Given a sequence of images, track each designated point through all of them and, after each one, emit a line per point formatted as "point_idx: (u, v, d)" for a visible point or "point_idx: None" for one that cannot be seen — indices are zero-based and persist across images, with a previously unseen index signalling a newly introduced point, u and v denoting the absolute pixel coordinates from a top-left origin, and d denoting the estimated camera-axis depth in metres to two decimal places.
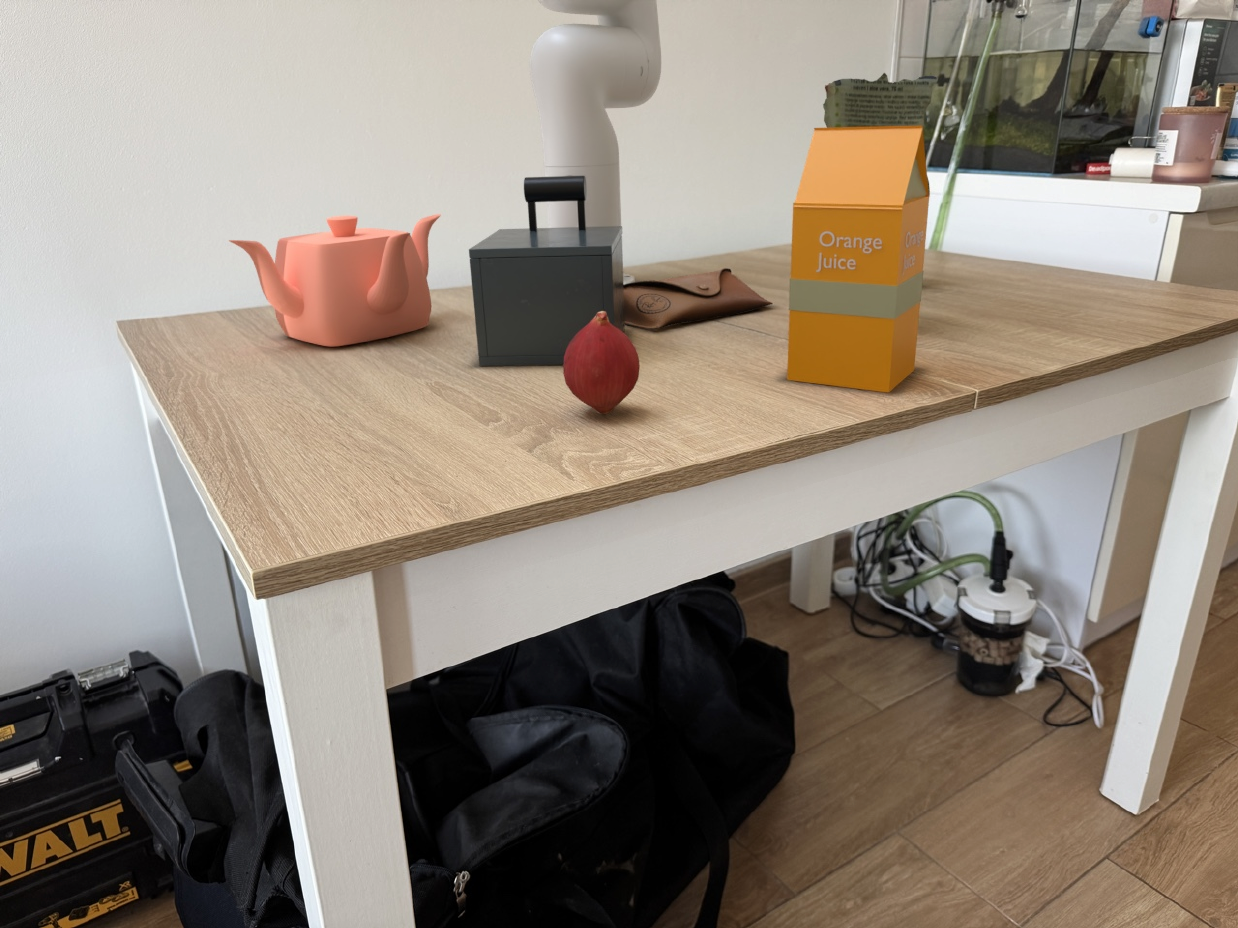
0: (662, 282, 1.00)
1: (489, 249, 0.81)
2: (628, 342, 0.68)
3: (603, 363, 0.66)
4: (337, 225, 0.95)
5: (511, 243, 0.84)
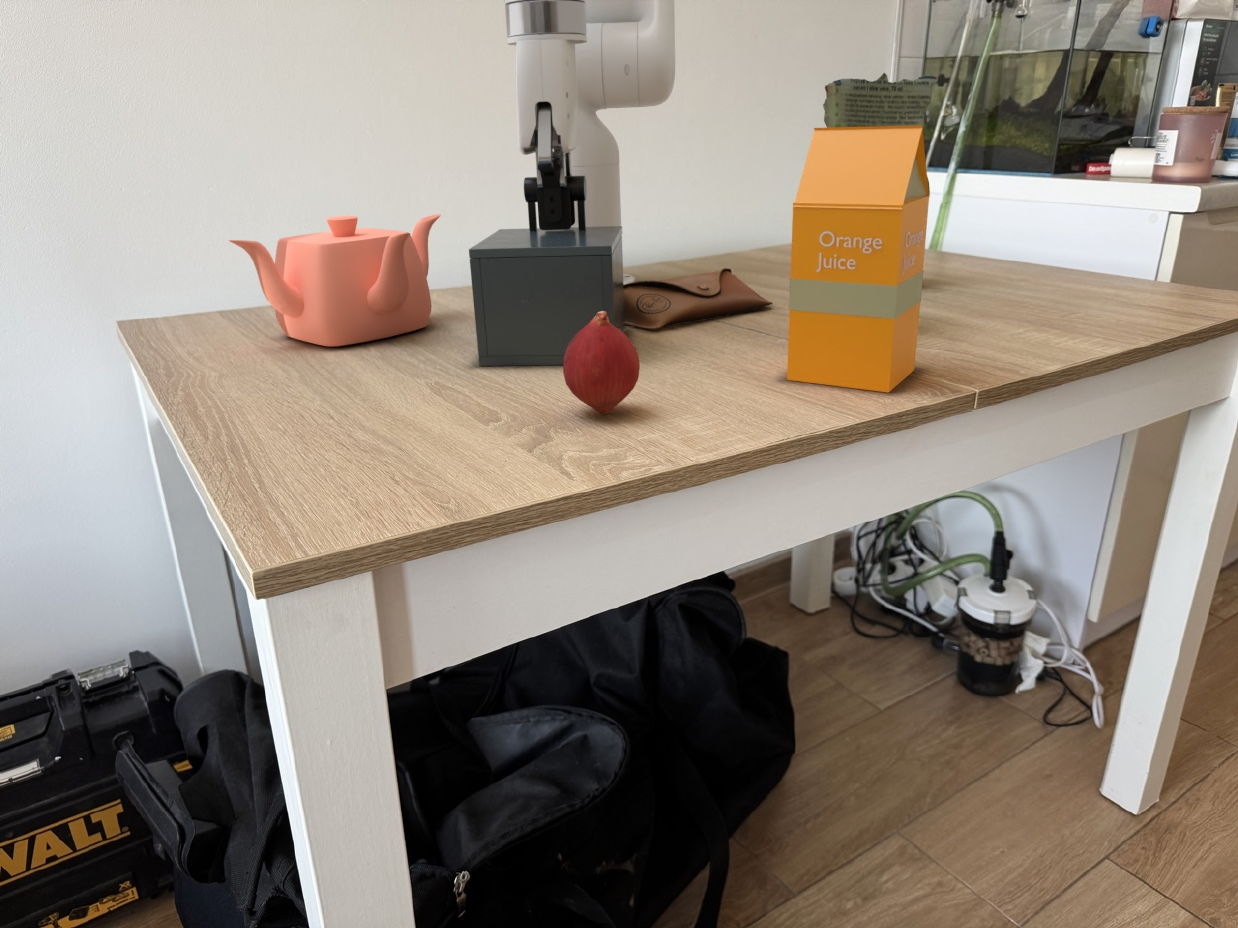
0: (662, 282, 1.00)
1: (489, 249, 0.81)
2: (628, 342, 0.68)
3: (603, 363, 0.66)
4: (337, 225, 0.95)
5: (511, 243, 0.84)
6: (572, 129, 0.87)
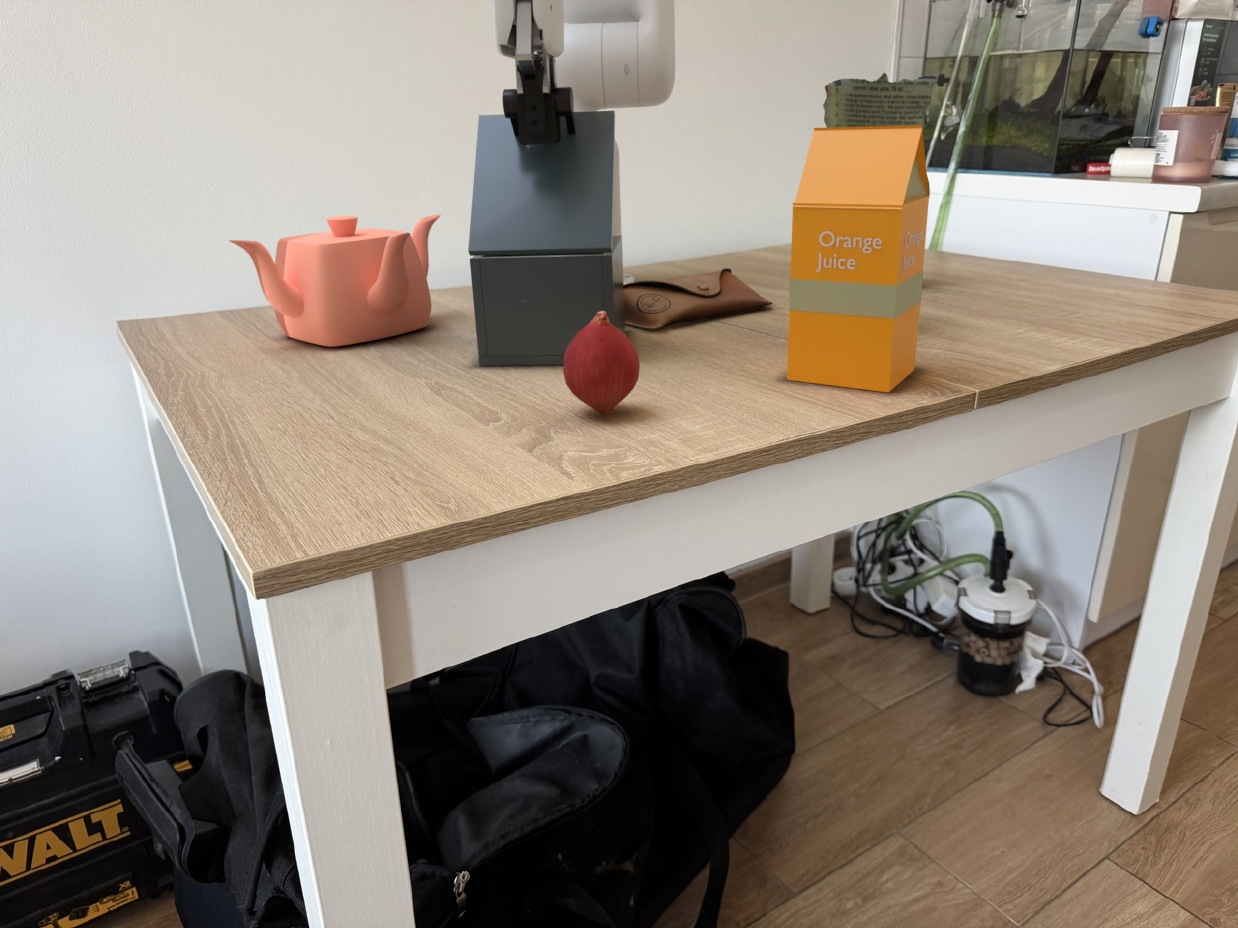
0: (662, 282, 1.00)
1: (488, 251, 0.81)
2: (628, 342, 0.68)
3: (603, 363, 0.66)
4: (337, 225, 0.95)
5: (506, 219, 0.82)
6: (556, 26, 0.76)
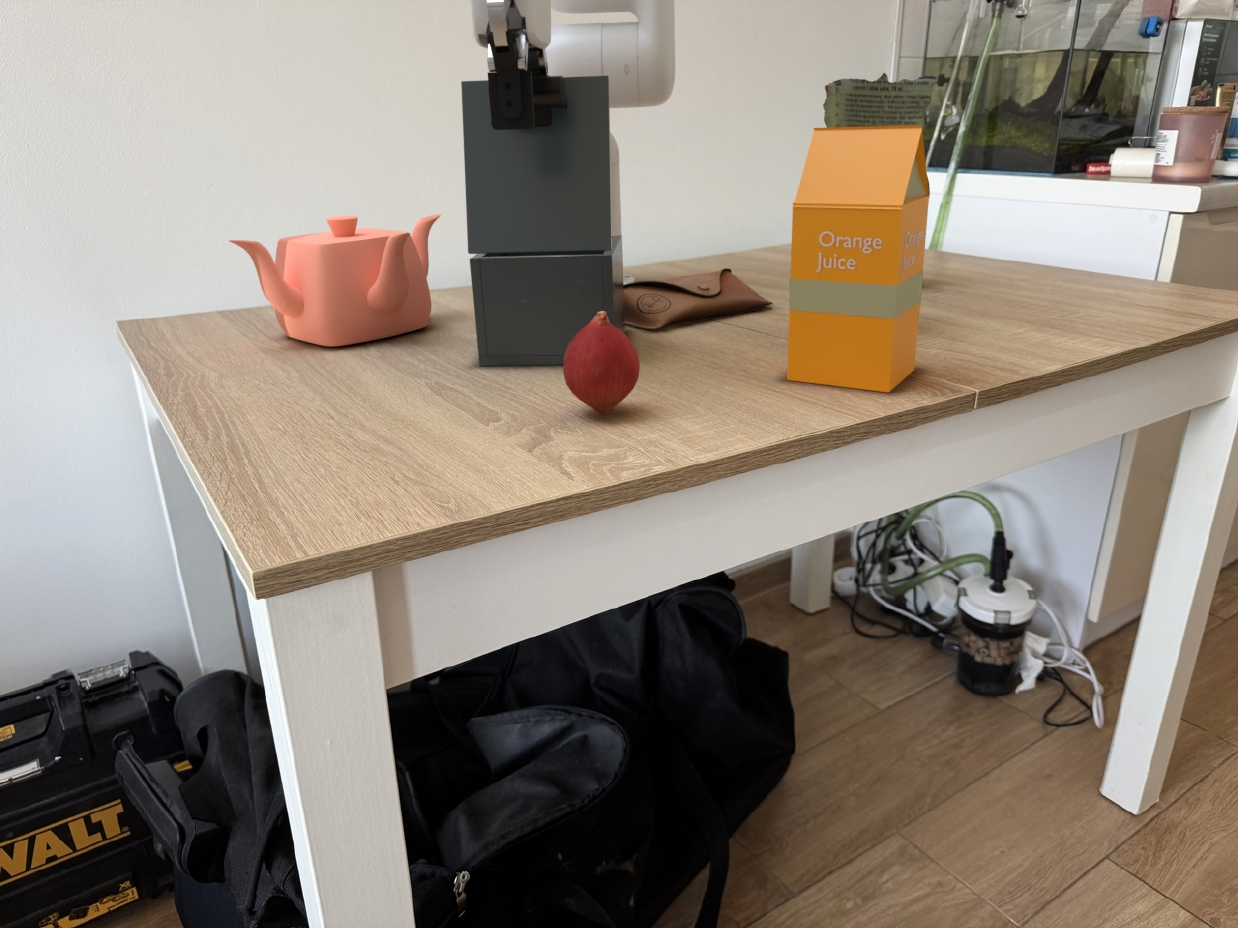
0: (662, 282, 1.00)
1: (488, 252, 0.81)
2: (628, 342, 0.68)
3: (603, 363, 0.66)
4: (337, 225, 0.95)
5: (503, 216, 0.80)
6: (541, 13, 0.68)
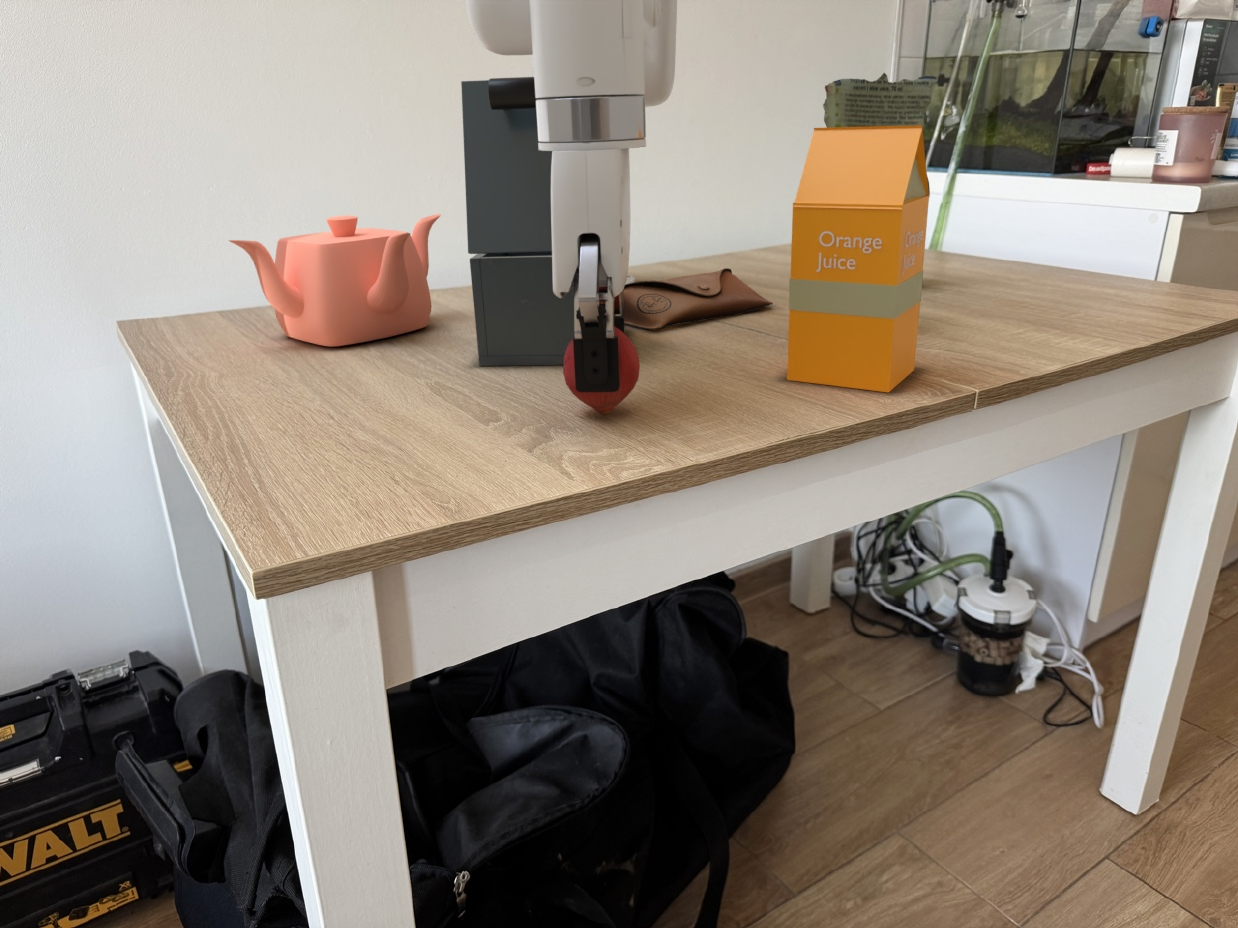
0: (663, 282, 1.00)
1: (488, 252, 0.81)
2: (628, 342, 0.68)
3: None
4: (337, 225, 0.95)
5: (503, 216, 0.80)
6: (625, 263, 0.64)
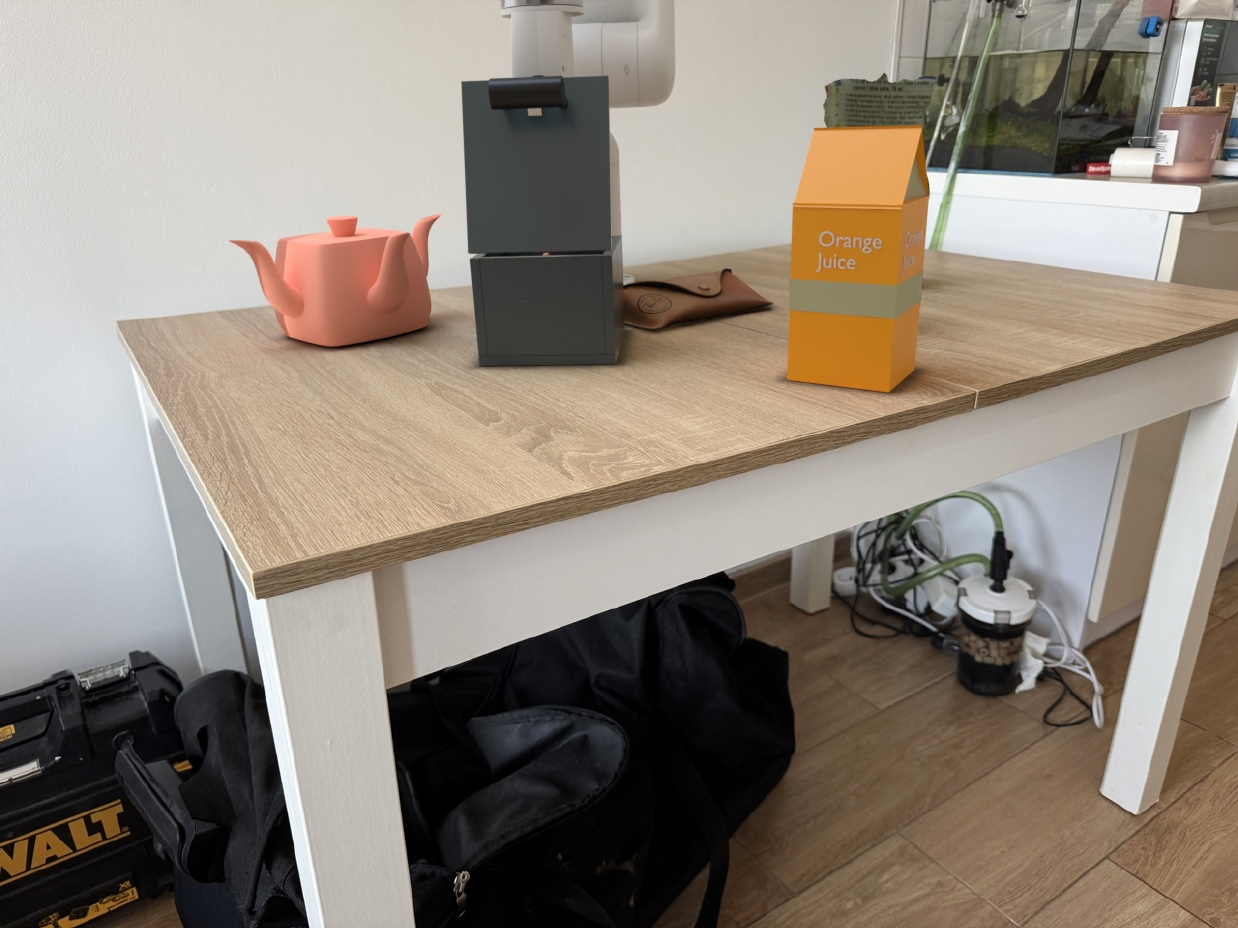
0: (663, 282, 1.00)
1: (488, 252, 0.81)
2: None
3: None
4: (337, 225, 0.95)
5: (503, 216, 0.80)
6: None
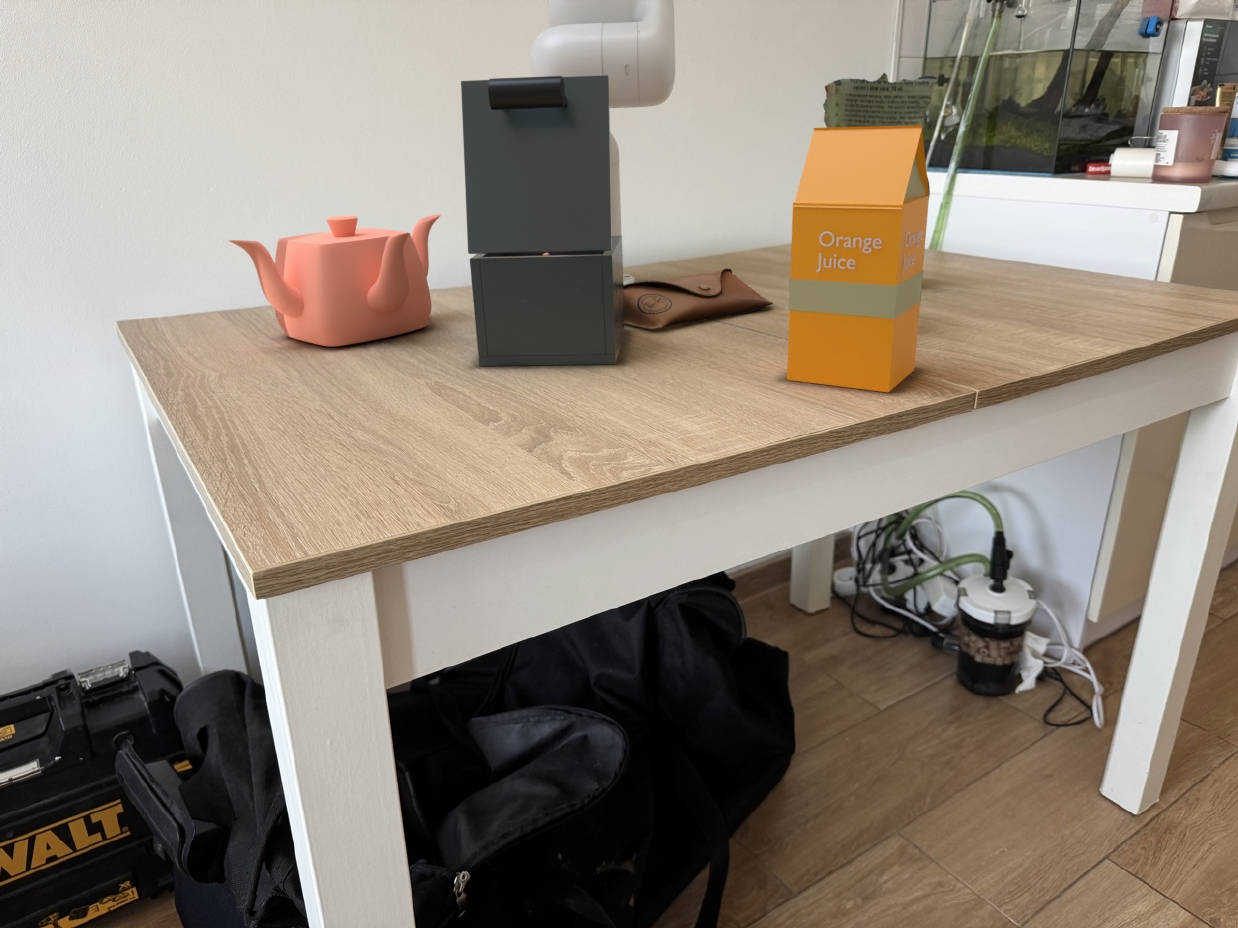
0: (663, 282, 1.00)
1: (488, 252, 0.81)
2: None
3: None
4: (337, 225, 0.95)
5: (503, 216, 0.80)
6: None
